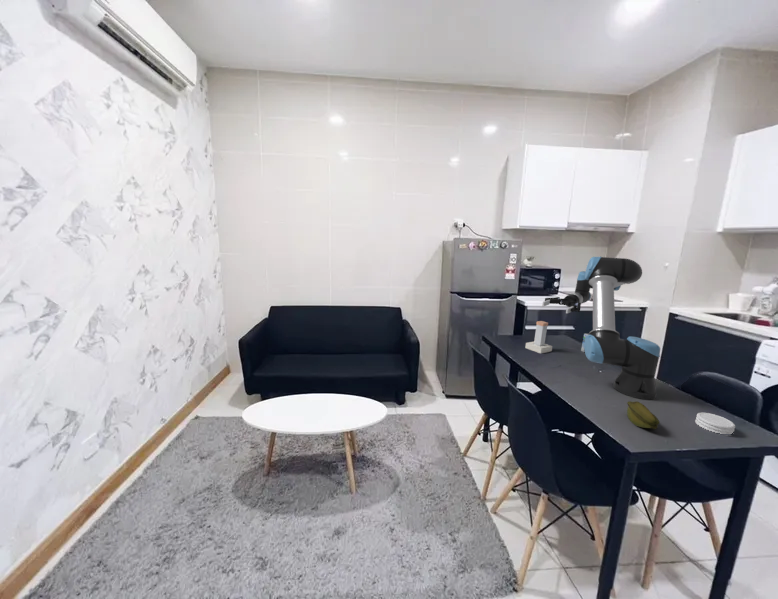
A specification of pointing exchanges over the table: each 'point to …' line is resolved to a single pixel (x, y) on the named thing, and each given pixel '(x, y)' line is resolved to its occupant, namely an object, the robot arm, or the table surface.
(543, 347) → the white square base
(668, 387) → the table surface
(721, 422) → the white ridged lid
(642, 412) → the fruit
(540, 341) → the plug
